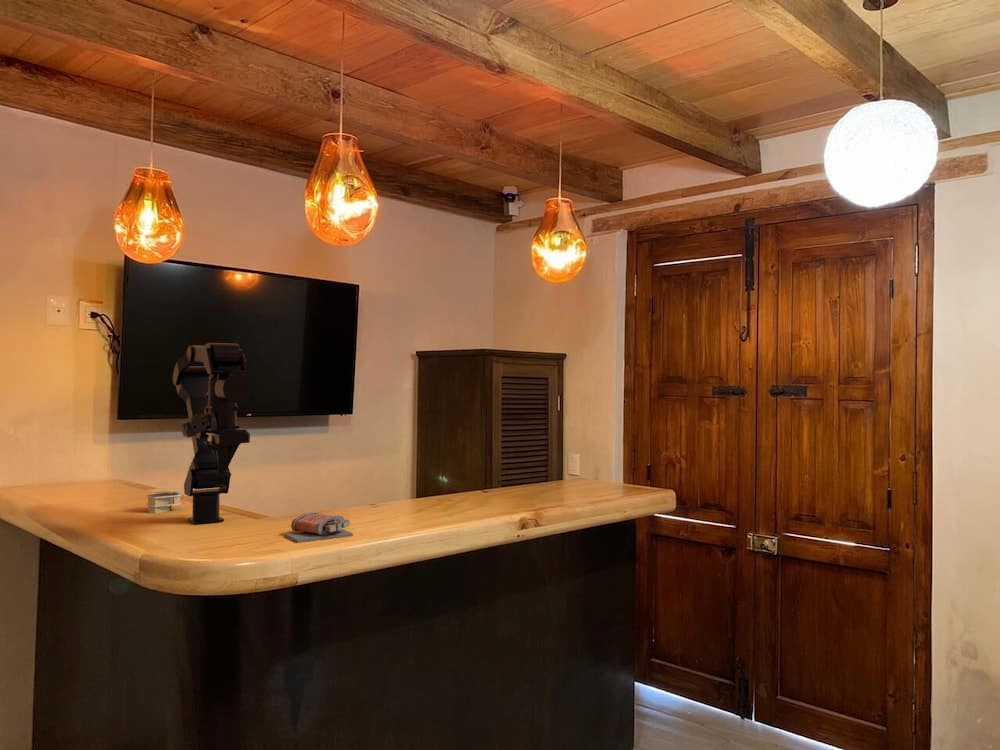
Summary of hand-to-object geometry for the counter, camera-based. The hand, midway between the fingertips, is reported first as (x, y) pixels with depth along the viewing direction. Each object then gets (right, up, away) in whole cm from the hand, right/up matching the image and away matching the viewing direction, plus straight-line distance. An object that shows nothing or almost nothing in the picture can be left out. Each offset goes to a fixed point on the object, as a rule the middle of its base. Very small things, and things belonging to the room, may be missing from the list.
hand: (221, 474), depth 161 cm
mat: (+22, -12, -5) cm, 26 cm away
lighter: (+18, -10, -1) cm, 20 cm away
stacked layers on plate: (-22, -12, +22) cm, 34 cm away
